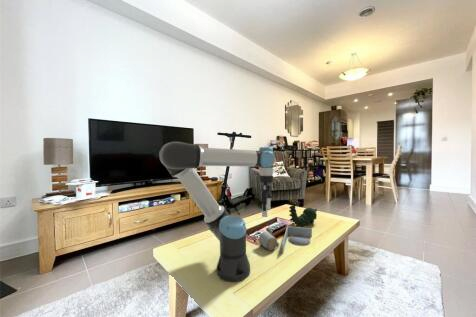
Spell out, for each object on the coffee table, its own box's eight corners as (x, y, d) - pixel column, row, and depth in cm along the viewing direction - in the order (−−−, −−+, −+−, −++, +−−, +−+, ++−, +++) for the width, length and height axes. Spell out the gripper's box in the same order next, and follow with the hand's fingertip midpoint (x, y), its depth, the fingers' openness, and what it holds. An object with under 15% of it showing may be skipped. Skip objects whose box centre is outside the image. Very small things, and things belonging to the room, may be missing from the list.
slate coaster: (310, 246, 112) (310, 245, 112) (287, 243, 116) (287, 242, 116) (310, 237, 124) (310, 236, 124) (289, 235, 128) (289, 234, 128)
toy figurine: (297, 232, 136) (323, 222, 147) (295, 204, 134) (321, 196, 146) (287, 227, 144) (312, 218, 156) (285, 201, 143) (311, 194, 154)
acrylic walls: (312, 258, 101) (312, 248, 100) (282, 253, 106) (281, 244, 105) (311, 236, 125) (311, 228, 125) (287, 233, 130) (287, 225, 130)
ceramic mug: (267, 252, 107) (268, 238, 106) (258, 246, 114) (258, 233, 113) (282, 247, 112) (282, 233, 112) (272, 242, 119) (272, 229, 119)
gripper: (270, 178, 100) (270, 220, 100) (275, 172, 123) (275, 207, 124) (255, 177, 102) (255, 219, 103) (263, 172, 126) (263, 206, 126)
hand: (266, 212), depth 113 cm, fingers open, 13 cm apart
